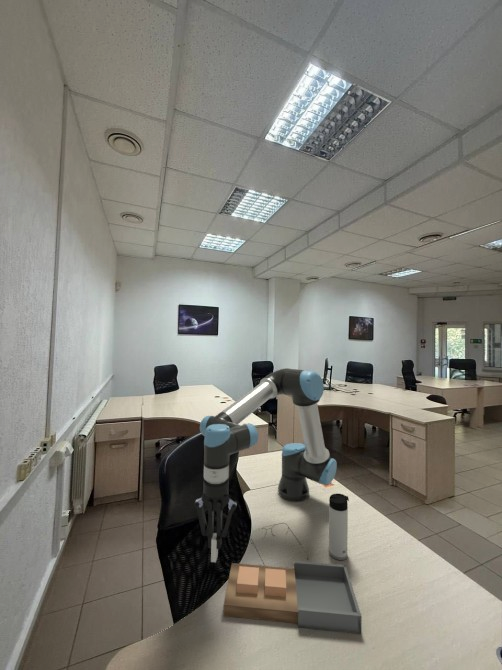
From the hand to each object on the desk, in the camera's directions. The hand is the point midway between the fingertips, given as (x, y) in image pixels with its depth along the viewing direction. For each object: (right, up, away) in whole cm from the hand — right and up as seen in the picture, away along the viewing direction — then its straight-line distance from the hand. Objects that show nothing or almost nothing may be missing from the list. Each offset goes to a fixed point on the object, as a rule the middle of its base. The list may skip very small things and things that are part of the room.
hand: (214, 558), depth 82 cm
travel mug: (+42, -11, +15) cm, 46 cm away
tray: (+32, -10, -3) cm, 34 cm away
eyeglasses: (+20, -11, +16) cm, 28 cm away
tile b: (+18, -7, -1) cm, 19 cm away
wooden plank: (+14, -10, -1) cm, 17 cm away
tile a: (+10, -7, -1) cm, 12 cm away
